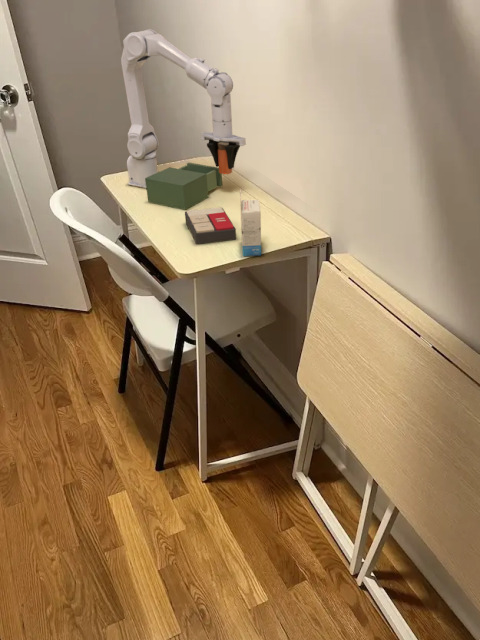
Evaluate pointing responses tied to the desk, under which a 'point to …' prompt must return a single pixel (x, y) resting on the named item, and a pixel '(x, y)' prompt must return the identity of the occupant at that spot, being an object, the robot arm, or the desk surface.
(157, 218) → the desk surface
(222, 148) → the spice jar
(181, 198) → the cabinet
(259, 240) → the ink box
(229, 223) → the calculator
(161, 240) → the desk surface
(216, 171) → the drawer
